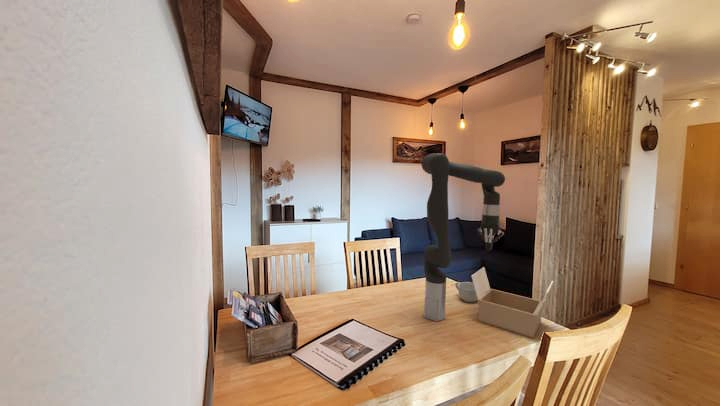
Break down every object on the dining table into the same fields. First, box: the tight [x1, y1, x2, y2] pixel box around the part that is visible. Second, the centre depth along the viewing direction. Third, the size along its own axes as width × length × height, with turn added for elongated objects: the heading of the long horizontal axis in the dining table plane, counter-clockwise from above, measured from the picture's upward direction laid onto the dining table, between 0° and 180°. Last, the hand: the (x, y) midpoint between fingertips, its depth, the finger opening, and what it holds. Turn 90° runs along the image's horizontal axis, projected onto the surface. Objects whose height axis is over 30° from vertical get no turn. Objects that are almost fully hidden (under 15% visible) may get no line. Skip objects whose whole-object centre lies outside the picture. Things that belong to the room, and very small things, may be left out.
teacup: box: [454, 281, 479, 303], centre depth 156 cm, size 14×11×8 cm
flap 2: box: [536, 280, 554, 315], centre depth 122 cm, size 17×11×1 cm
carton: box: [477, 288, 543, 340], centre depth 131 cm, size 18×22×10 cm
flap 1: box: [470, 266, 491, 300], centre depth 139 cm, size 17×11×1 cm
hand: (488, 250), depth 139 cm, fingers closed
